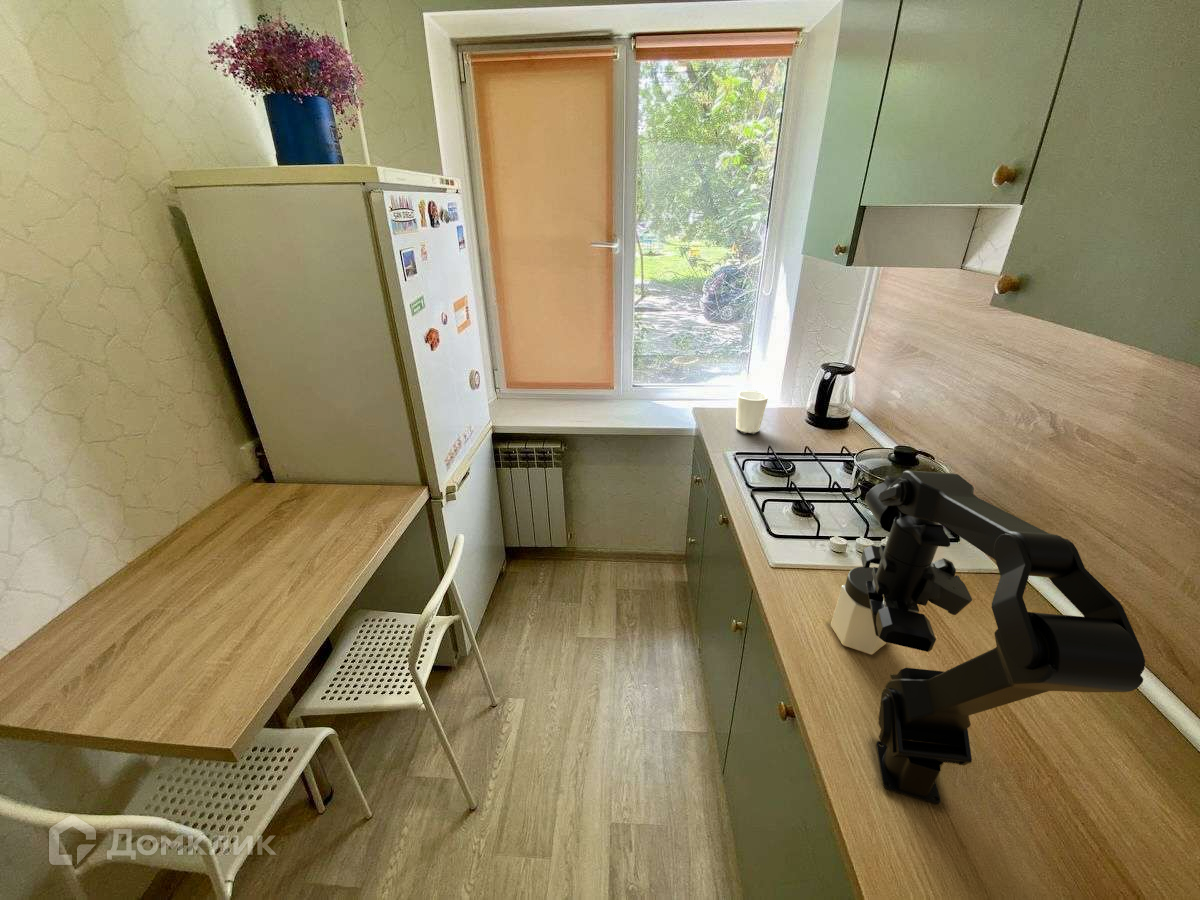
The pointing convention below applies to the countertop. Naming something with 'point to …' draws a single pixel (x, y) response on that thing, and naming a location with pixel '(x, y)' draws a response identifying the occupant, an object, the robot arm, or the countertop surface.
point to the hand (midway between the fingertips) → (879, 634)
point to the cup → (750, 411)
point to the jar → (856, 614)
